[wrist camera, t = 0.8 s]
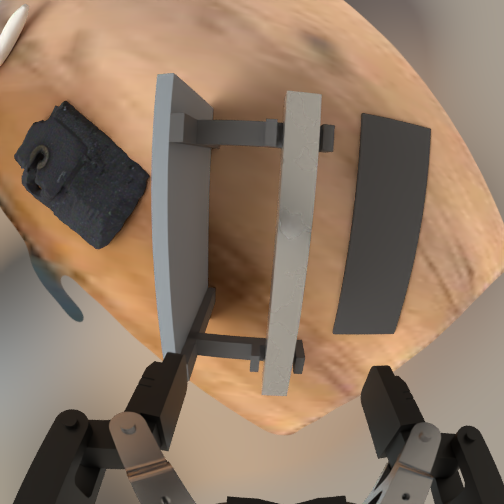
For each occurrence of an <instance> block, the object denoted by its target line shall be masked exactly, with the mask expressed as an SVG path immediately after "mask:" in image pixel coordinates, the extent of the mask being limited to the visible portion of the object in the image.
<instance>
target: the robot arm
mask: <svg viewBox="0 0 504 504" xmlns="http://www.w3.org/2000/svg"><path fill="white" fill-rule="evenodd" d="M186 391H187V367H186V356H185V354H179V353H172V352H167V353H166V356H165V358H164V360H163V362H162V363H161V362H156V361H154V362H153V363H152V364H151V365H149V366H148V367H147V368H146V370H145V371H144V373H143V375H142V378H141V379H140V381H139V384H138V385H137V387H136V389H135V392H134V393H133V395H132V397H131V399H130V401H129V403H128V406H127V407H126V410H125V411H124V412H122V413H119V414H117V415H115V416H114V417H113V418H112V419H111V420H88V418H87V417H86V415H85V414H84V413H82V412H81V411H78V410H72V409H71V410H66V411H64V412H61V413H60V414H59V415H58V416H57V417H56V419H55V421H54V423H53V424H52V426H51V428H50V430H49V432H48V434H47V435H46V437H45V439H44V441H43V443H42V445H41V447H40V448H39V450H38V452H37V454H36V456H35V458H34V460H33V462H32V464H31V466H30V468H29V470H28V472H27V474H26V476H25V478H24V480H23V483H22V485H21V487H20V489H19V491H18V493H17V496H16V498H15V500H14V503H13V504H95V501H96V498H97V495H98V492H99V489H100V486H101V483H102V480H103V477H104V474H105V471H106V469H125V470H126V472H127V476H128V479H129V481H130V483H131V485H132V487H133V489H134V491H135V493H136V495H137V497H138V499H139V501H140V503H141V504H196V503H195V501H194V500H193V498H192V497H191V495H190V494H189V492H188V491H187V489H186V488H185V486H184V485H183V483H182V482H181V480H180V478H179V477H178V475H177V474H176V472H175V470H174V469H173V467H172V466H171V464H170V463H169V462H167V460H166V459H165V457H164V456H163V454H162V452H161V450H165V451H169V447H170V444H171V441H172V437H173V434H174V431H175V427H176V424H177V421H178V417H179V414H180V411H181V408H182V404H183V401H184V398H185V395H186ZM361 404H362V407H363V410H364V413H365V416H366V420H367V423H368V426H369V430H370V433H371V436H372V439H373V443H374V446H375V450H376V453H377V457H378V459H379V458H385V457H387V458H388V463H387V464H386V466H385V468H384V469H383V471H382V473H381V475H380V477H379V479H378V480H377V482H376V484H375V486H374V487H373V489H372V491H371V493H370V494H369V496H368V497H367V498H366V500H365V501H364V502H363V503H362V504H424V502H425V500H426V497H427V495H428V492H429V489H430V488H431V491H432V495H433V499H434V503H435V504H504V484H503V481H502V479H501V476H500V474H499V472H498V469H497V467H496V465H495V462H494V460H493V458H492V456H491V454H490V451H489V449H488V447H487V445H486V443H485V441H484V439H483V437H482V435H481V433H480V431H479V430H478V429H476V428H475V427H472V426H464V427H461V428H460V429H459V430H458V432H457V433H456V434H448V433H440V431H439V429H438V428H437V427H436V426H434V425H433V424H430V423H427V422H425V421H424V418H423V416H422V414H421V412H420V410H419V408H418V406H417V404H416V402H415V400H414V399H413V396H412V394H411V393H410V390H409V388H408V386H407V384H406V383H405V382H404V381H403V380H402V379H401V378H400V377H399V376H395V375H394V374H393V371H392V369H391V368H390V366H388V365H386V366H373V367H371V369H370V372H369V374H368V377H367V379H366V382H365V384H364V386H363V389H362V392H361ZM459 469H460V470H461V473H462V476H463V478H464V481H465V487H463V484H462V481H461V478H460V475H459V472H458V470H459ZM218 504H278V503H274V502H269V501H265V500H261V499H254V498H239V497H227V502H226V503H218ZM297 504H355V503H350V502H346V497H345V496H336V497H327V498H316V499H313V500H309V501H306V502H301V503H297Z"/></svg>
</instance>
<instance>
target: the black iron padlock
mask: <svg viewBox="0 0 504 504" xmlns="http://www.w3.org/2000/svg"><path fill="white" fill-rule="evenodd" d="M14 158H15V160H16V161H17V162H18V163H19V165H20V166H21V169H22V168H24V169H25V170H24V172H23V175H22V185H23V186H24V187H25V188H26V190H27V191H28V192H29V193H31V194H32V195H33V196H34V197H35V198H36V199H38V200H39V201H40V202H42V203H43V204H44V205H45V206H47V207H48V208H50V209H51V210H52V211H53V212H54V215H55V216H57V217H58V218H59V220H61V221H62V222H63V223H64V224H66V225H68V226H69V227H70V229H72V230H73V231H75V232H76V233H78V234H79V235H80V236H81V237H82V238H83V239H84V240H85V241H86V242H87V243H89V244H90V245H92V246H93V247H94V248H95V249H101V248H103V247H105V246H107V245H108V244H109V243H110V242H111V240H112V239H113V238H114V236H115V235H116V234H117V232H119V231H120V230H121V228H122V226H123V224H124V222H125V220H126V219H127V218H128V217H129V215H130V214H131V213H132V212H133V210H134V208H135V206H136V204H137V203H138V200H139V198H141V196H142V195H143V194H144V190H145V188H146V180H147V179H148V178H149V175H148V174H147V173H146V171H144V170H143V169H142V167H141V166H140V165H139V164H138V163H136V162H134V161H133V160H131V159H130V158H129V157H128V155H127V154H126V153H125V152H123V150H122V149H121V148H119V147H118V146H117V145H116V144H115V143H114V142H113V141H112V140H111V139H110V138H109V137H108V136H106V135H105V133H103V132H102V131H101V130H98V128H97V127H96V126H95V125H94V124H93V123H92V122H90V121H89V120H88V119H86V118H85V117H84V116H83V115H82V114H80V113H79V112H78V111H77V110H76V109H75V108H74V107H73V106H72V105H70V104H69V103H68V102H67V101H64V102H63V103H62V104H61V105H60V106H59V107H58V106H55V108H54V110H53V112H52V114H51V115H50V117H49V119H48V120H46V121H44V120H42V121H39V122H34V123H33V125H32V126H31V128H30V129H29V131H28V133H27V135H26V137H25V139H24V141H23V144H22V145H21V146H20V148H19V149H18V150H17V153H16V154H15V155H14ZM38 185H39V186H41V188H42V189H40V188H39V186H38Z"/></svg>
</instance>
